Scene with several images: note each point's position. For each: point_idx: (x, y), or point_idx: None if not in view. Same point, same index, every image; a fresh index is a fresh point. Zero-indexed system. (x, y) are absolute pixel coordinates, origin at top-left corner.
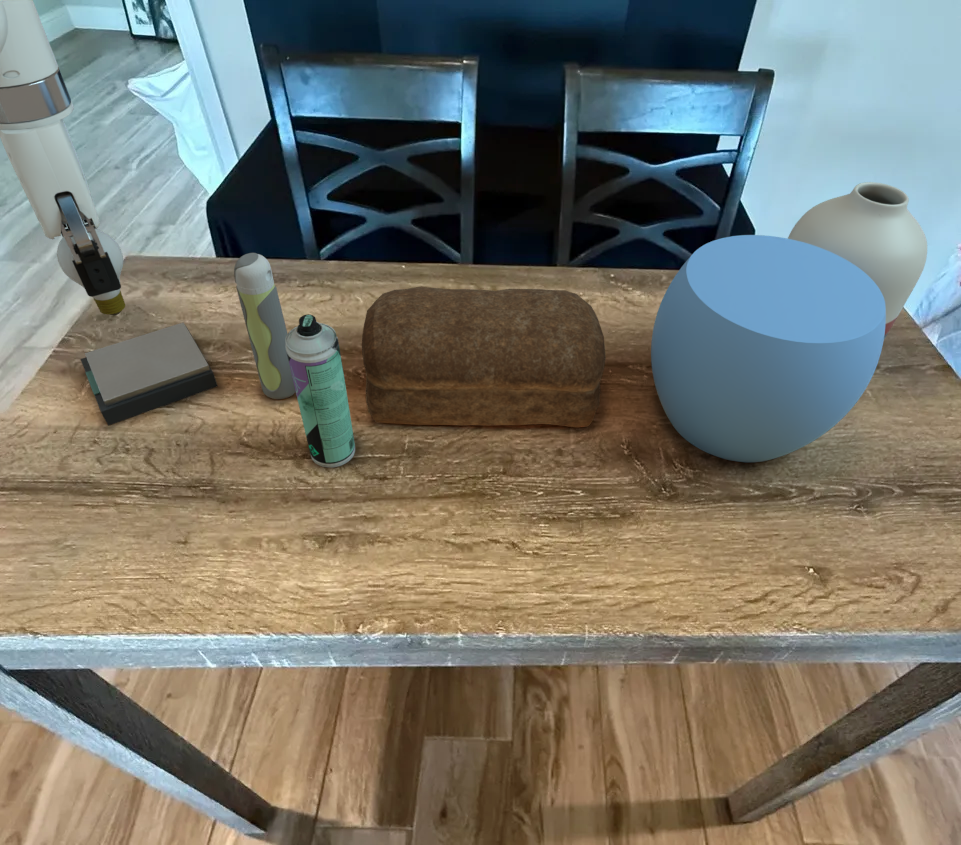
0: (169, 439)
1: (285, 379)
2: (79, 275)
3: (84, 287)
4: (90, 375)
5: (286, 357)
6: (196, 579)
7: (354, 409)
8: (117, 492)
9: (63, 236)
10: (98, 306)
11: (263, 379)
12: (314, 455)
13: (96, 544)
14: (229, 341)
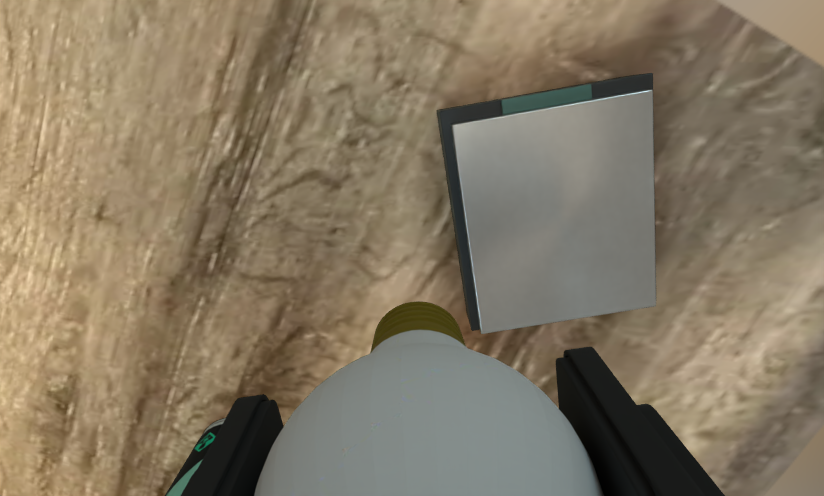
0: (354, 217)
1: None
2: (186, 490)
3: (221, 428)
4: (574, 95)
5: None
6: (20, 224)
7: None
8: (245, 117)
9: (645, 479)
10: (397, 318)
11: None
12: (208, 434)
13: (127, 73)
14: None
